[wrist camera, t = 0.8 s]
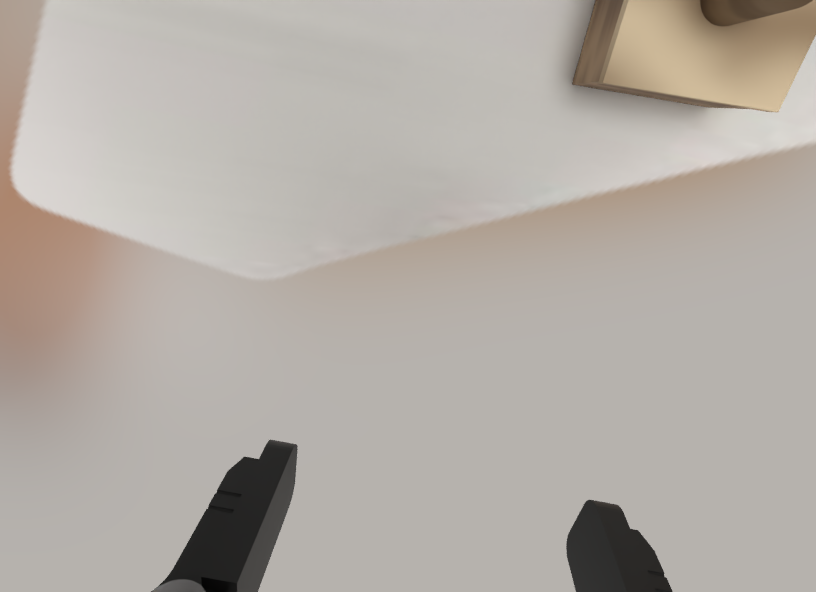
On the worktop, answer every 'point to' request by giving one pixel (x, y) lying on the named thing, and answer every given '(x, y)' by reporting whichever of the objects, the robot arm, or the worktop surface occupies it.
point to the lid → (711, 49)
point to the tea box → (597, 50)
